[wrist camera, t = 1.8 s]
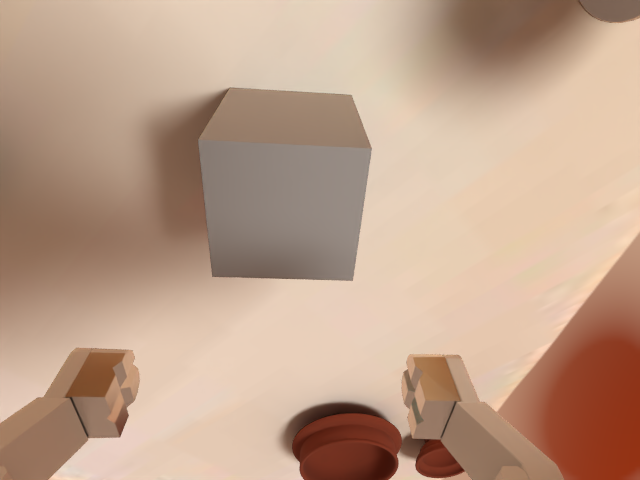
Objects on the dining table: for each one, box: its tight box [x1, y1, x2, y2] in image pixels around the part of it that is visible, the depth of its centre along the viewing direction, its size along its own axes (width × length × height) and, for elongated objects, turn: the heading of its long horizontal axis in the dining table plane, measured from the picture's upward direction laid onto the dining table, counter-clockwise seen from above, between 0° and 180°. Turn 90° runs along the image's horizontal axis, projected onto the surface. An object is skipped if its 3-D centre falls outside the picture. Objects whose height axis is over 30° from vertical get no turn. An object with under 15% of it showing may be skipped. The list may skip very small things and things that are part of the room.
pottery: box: [292, 413, 465, 480], centre depth 44 cm, size 12×20×4 cm, turn 78°
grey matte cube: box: [198, 88, 372, 281], centre depth 23 cm, size 7×7×9 cm
